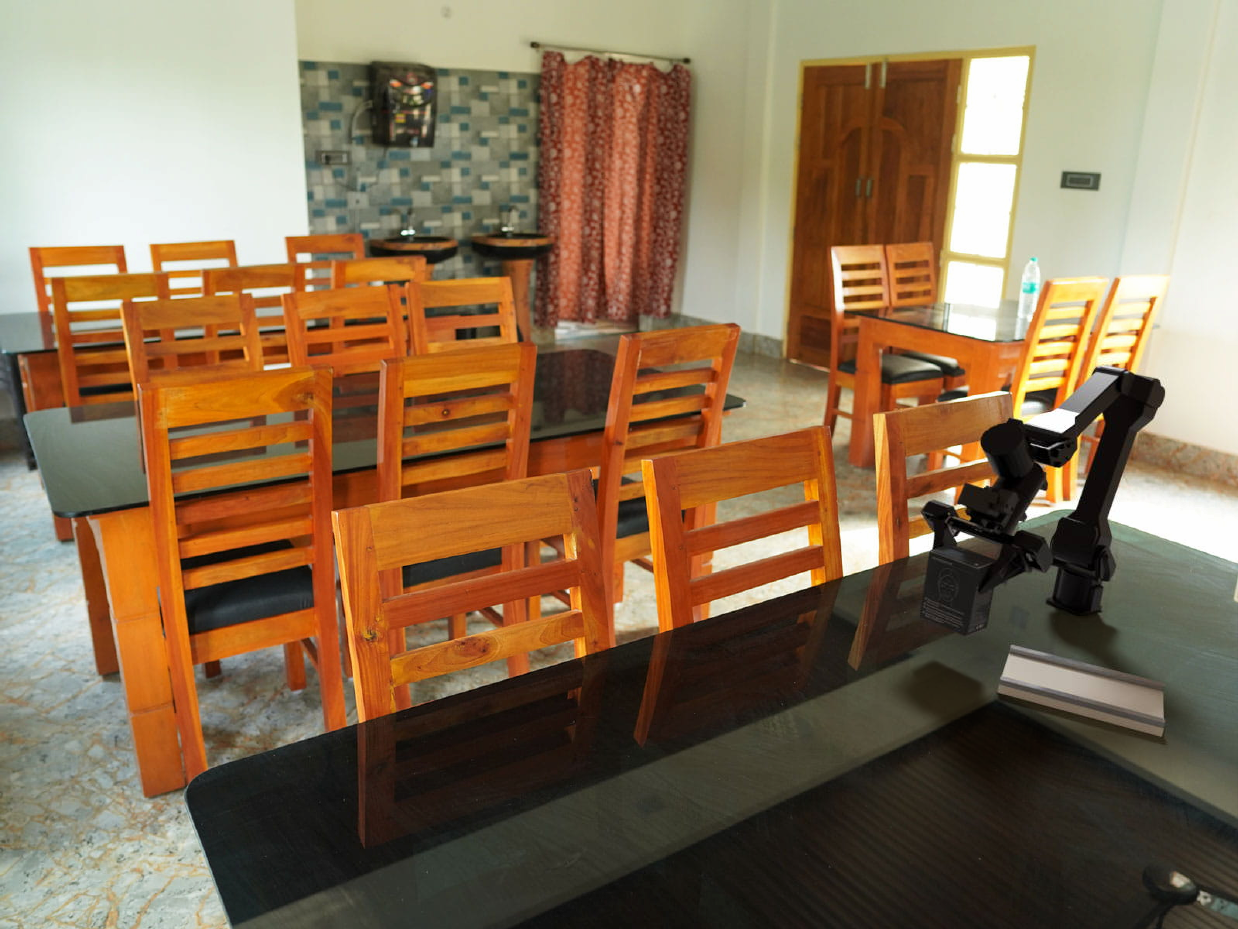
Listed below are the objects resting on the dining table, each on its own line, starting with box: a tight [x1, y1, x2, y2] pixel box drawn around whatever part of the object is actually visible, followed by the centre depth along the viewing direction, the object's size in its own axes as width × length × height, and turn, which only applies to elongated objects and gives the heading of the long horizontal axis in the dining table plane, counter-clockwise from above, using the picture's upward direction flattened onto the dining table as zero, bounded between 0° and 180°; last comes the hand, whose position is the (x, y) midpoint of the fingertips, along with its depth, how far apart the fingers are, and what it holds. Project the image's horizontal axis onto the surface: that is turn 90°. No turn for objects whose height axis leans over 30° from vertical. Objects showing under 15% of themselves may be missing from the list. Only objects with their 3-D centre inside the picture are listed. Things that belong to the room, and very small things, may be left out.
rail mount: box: [997, 644, 1166, 738], centre depth 137 cm, size 20×12×2 cm, turn 63°
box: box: [919, 544, 997, 638], centre depth 142 cm, size 8×6×11 cm
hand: (954, 582), depth 140 cm, fingers closed on box, 8 cm apart
